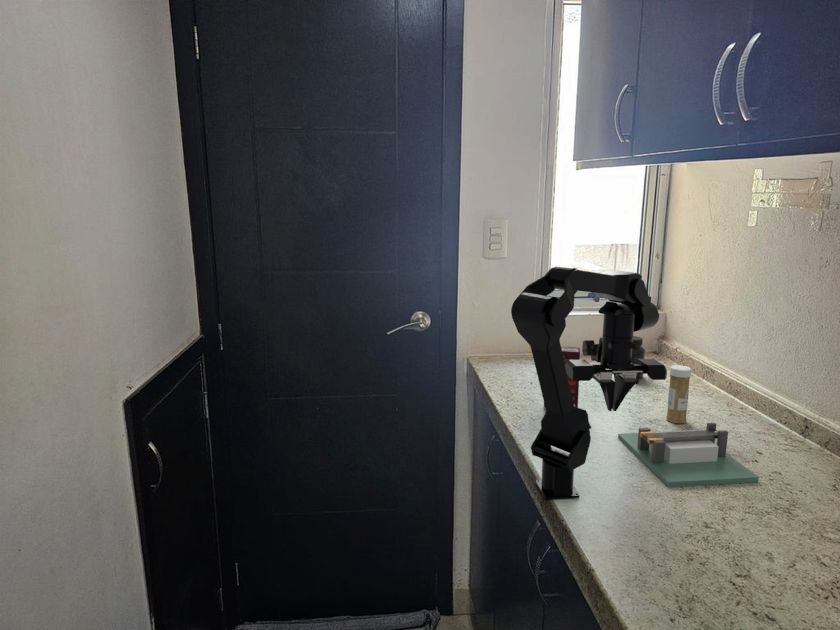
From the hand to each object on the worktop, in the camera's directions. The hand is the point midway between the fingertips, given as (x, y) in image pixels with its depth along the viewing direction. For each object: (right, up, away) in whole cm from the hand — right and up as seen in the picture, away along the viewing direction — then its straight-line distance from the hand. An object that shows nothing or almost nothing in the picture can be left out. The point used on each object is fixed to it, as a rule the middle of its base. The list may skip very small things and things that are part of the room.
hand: (611, 410), depth 115 cm
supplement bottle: (+24, +1, +56) cm, 61 cm away
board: (+16, -11, +4) cm, 20 cm away
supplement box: (-3, -5, +32) cm, 32 cm away
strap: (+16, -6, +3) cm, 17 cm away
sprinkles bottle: (+23, -6, +23) cm, 34 cm away
